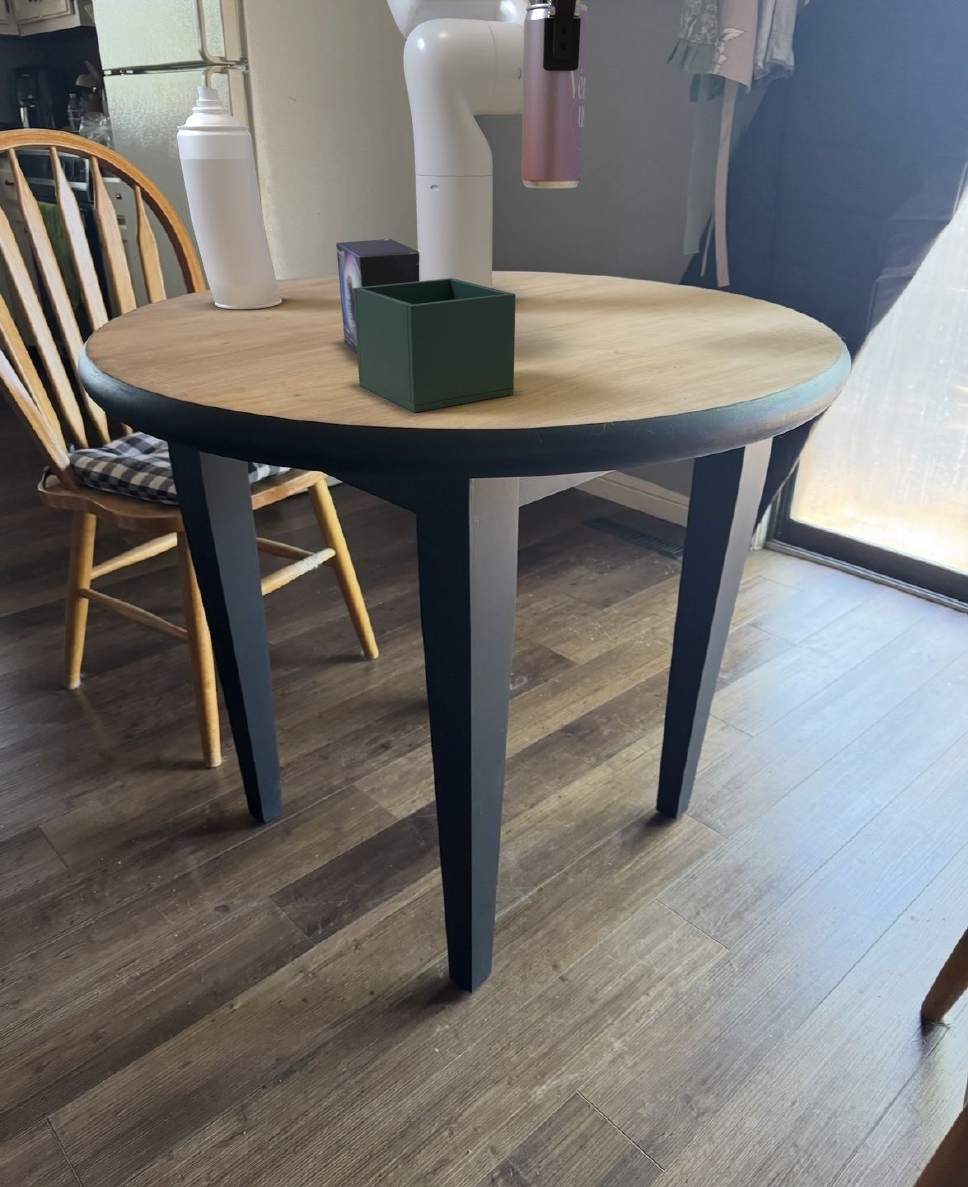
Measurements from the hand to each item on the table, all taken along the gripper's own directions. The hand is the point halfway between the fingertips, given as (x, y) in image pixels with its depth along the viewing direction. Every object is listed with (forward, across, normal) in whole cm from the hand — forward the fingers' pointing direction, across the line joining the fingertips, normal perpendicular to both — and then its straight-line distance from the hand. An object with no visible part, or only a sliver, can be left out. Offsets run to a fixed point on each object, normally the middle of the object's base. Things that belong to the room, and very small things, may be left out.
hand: (554, 70), depth 82 cm
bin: (+26, +16, -13) cm, 33 cm away
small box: (+26, +1, -18) cm, 31 cm away
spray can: (+25, -27, -36) cm, 52 cm away
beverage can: (+10, 0, 0) cm, 10 cm away
